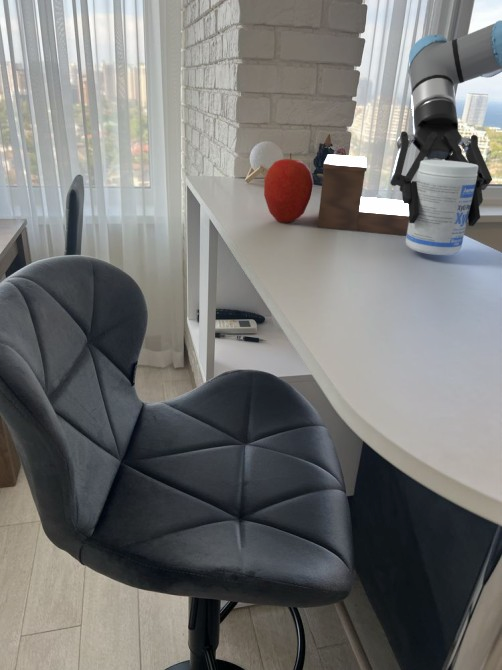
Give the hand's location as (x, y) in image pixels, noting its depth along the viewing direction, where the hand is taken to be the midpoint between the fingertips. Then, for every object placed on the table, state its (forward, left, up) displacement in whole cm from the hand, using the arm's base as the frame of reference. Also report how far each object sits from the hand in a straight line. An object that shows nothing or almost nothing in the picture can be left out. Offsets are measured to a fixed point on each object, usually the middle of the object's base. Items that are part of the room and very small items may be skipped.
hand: (444, 220), depth 85 cm
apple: (+29, -18, -7) cm, 35 cm away
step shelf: (+11, -23, -7) cm, 27 cm away
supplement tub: (0, -3, -6) cm, 7 cm away
